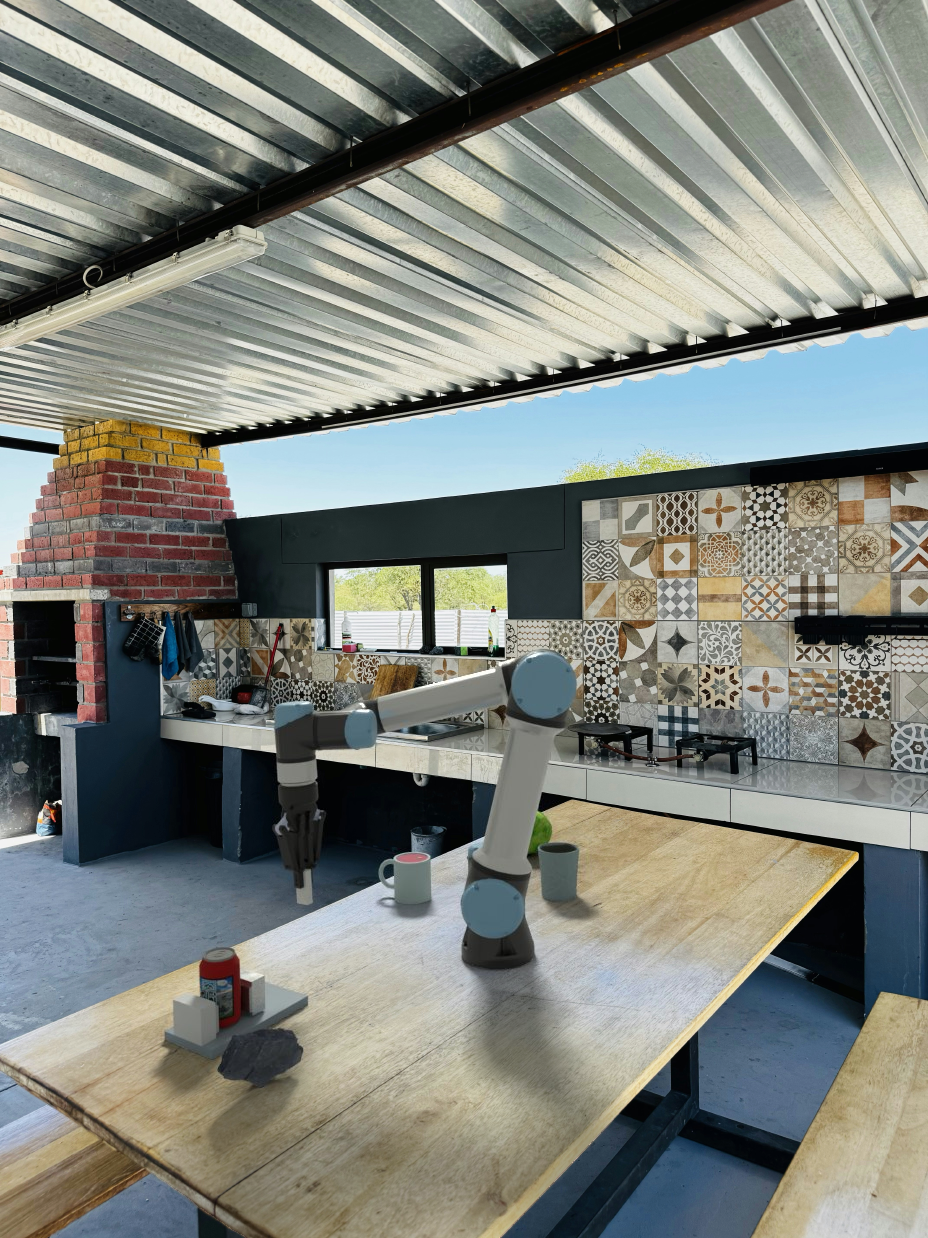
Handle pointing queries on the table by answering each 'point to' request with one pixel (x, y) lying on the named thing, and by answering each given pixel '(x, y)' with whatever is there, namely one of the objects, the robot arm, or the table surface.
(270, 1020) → the vise bed
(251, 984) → the block
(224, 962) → the beverage can
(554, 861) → the grey-green cup
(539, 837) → the lettuce
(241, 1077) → the stone
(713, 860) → the table surface
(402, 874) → the mug
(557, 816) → the table surface
